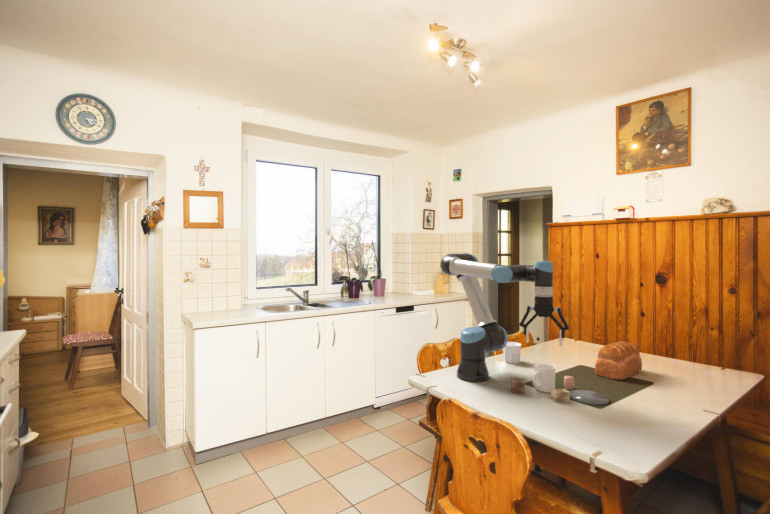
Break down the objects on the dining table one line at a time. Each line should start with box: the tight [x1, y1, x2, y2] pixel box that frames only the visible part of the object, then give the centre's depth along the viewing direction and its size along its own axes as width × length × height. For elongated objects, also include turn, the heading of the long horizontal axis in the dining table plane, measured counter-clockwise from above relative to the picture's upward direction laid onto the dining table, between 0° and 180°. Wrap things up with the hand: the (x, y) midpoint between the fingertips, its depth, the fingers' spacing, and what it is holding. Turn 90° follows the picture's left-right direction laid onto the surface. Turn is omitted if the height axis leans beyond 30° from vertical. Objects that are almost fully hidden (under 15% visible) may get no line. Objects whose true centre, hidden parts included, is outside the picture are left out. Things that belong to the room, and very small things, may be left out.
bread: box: [594, 340, 643, 381], centre depth 195 cm, size 14×26×16 cm, turn 127°
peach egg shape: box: [563, 375, 575, 391], centre depth 174 cm, size 4×4×5 cm
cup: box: [502, 341, 522, 365], centre depth 215 cm, size 10×10×10 cm
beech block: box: [550, 388, 571, 403], centre depth 160 cm, size 6×4×4 cm, turn 95°
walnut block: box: [510, 378, 526, 395], centre depth 169 cm, size 5×5×5 cm
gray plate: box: [569, 389, 610, 406], centre depth 162 cm, size 15×15×1 cm
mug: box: [532, 363, 556, 394], centre depth 171 cm, size 12×8×10 cm
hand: (543, 343), depth 172 cm, fingers open, 13 cm apart
